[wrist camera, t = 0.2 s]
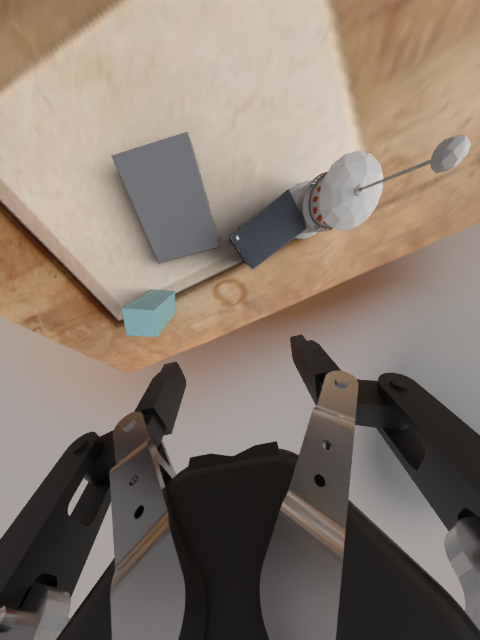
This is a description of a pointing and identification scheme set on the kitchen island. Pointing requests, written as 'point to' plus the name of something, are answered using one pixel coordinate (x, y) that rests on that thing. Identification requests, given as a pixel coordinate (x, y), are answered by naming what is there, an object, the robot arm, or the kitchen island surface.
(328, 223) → the french press
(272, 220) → the small box
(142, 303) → the teal block
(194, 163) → the grey flat block
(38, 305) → the kitchen island surface
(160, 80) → the kitchen island surface
